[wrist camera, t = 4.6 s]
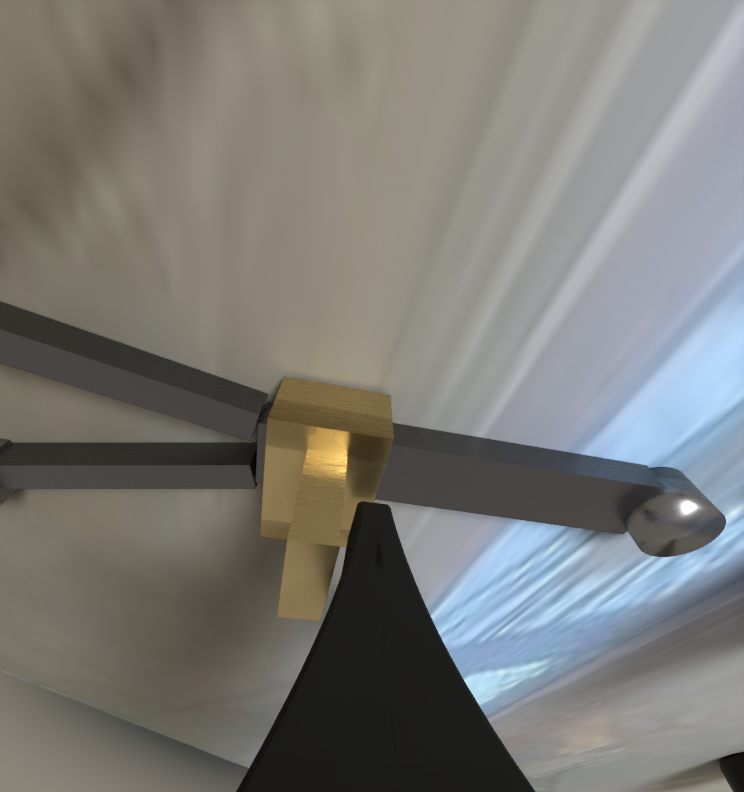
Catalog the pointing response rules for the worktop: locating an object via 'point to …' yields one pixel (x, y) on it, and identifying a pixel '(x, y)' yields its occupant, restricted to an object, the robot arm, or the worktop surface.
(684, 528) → the grey long bar part
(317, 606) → the collar
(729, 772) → the supplement bottle
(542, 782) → the worktop surface
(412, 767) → the robot arm
